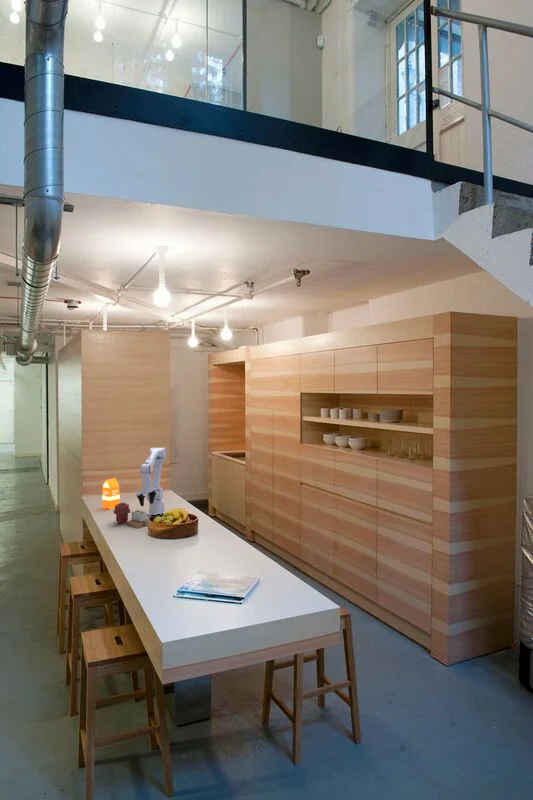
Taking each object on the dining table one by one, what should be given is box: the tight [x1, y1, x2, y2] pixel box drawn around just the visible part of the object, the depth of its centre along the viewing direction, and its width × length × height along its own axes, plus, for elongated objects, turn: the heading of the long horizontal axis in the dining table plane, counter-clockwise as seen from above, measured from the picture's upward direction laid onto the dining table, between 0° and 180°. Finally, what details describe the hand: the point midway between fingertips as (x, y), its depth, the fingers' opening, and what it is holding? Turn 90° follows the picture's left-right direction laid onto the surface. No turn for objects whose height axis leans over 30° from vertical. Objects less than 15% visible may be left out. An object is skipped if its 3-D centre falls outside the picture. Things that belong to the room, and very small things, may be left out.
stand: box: [125, 518, 149, 529], centre depth 320 cm, size 11×11×2 cm
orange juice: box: [101, 477, 121, 510], centre depth 364 cm, size 8×9×20 cm
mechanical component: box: [113, 502, 131, 525], centre depth 324 cm, size 12×10×10 cm
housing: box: [131, 509, 147, 523], centre depth 320 cm, size 8×4×6 cm, turn 52°
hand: (146, 504), depth 328 cm, fingers open, 7 cm apart
